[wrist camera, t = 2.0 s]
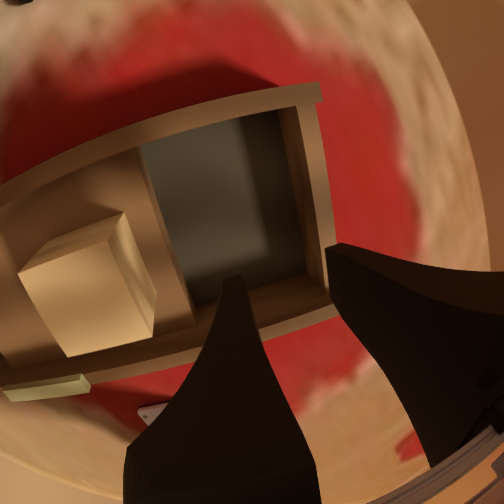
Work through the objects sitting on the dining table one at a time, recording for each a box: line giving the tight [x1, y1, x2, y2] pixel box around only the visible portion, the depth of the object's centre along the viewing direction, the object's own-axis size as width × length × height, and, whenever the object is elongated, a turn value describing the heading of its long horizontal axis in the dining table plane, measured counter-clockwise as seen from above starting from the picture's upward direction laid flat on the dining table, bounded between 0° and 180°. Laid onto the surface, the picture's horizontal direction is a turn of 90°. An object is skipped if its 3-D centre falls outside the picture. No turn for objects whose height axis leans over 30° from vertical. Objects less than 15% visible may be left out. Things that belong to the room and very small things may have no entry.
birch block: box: [18, 212, 157, 357], centre depth 14 cm, size 5×5×4 cm
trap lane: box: [0, 82, 340, 402], centre depth 15 cm, size 13×34×5 cm, turn 103°
